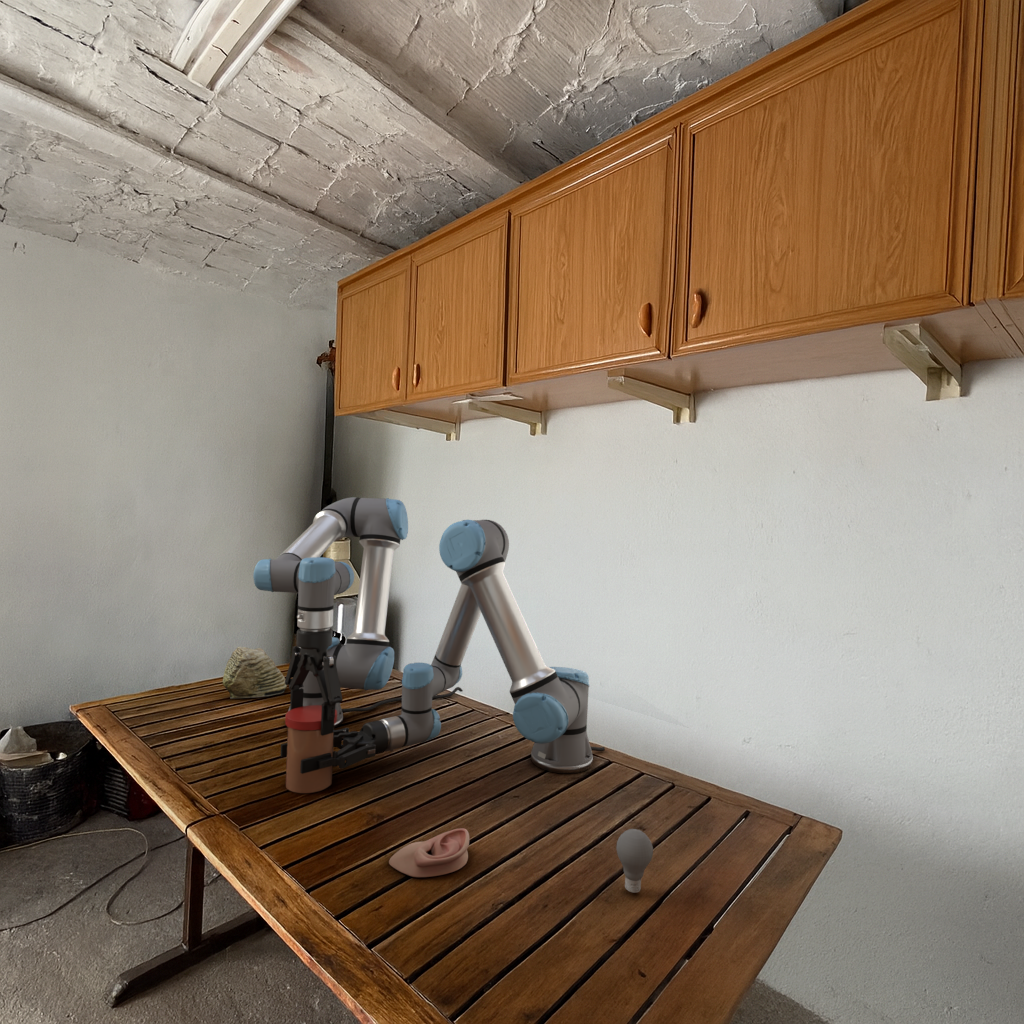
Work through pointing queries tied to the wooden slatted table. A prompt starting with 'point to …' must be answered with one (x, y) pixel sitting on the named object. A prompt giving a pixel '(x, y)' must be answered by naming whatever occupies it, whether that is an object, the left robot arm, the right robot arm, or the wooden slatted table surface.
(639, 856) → the light bulb
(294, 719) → the lid
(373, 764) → the wooden slatted table surface
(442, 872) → the anatomical model
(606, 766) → the wooden slatted table surface
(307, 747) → the jar
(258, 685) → the fossil
